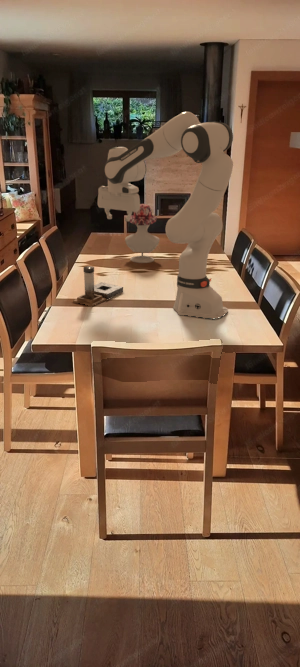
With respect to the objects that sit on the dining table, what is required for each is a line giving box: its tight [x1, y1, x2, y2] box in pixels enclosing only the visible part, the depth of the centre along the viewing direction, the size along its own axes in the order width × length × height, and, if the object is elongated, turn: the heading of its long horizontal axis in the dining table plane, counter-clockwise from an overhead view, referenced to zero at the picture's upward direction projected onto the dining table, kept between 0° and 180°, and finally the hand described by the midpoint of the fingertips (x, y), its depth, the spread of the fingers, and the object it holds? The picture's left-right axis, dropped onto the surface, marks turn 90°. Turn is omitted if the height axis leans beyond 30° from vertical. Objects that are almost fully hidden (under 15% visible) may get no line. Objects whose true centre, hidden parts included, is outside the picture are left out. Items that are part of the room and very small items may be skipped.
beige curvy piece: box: [124, 203, 161, 264], centre depth 275 cm, size 19×18×30 cm
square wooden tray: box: [72, 293, 107, 307], centre depth 214 cm, size 10×10×2 cm
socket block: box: [94, 282, 124, 300], centre depth 224 cm, size 12×12×2 cm
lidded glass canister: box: [83, 265, 95, 300], centre depth 211 cm, size 4×4×14 cm
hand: (118, 220), depth 220 cm, fingers open, 8 cm apart
